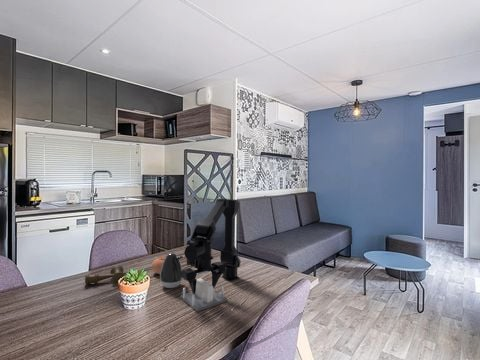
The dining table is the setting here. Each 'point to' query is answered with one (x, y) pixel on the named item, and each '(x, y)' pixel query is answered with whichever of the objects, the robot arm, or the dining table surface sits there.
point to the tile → (204, 289)
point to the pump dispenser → (171, 271)
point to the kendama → (106, 276)
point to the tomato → (157, 265)
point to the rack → (203, 299)
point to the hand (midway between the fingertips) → (203, 290)
